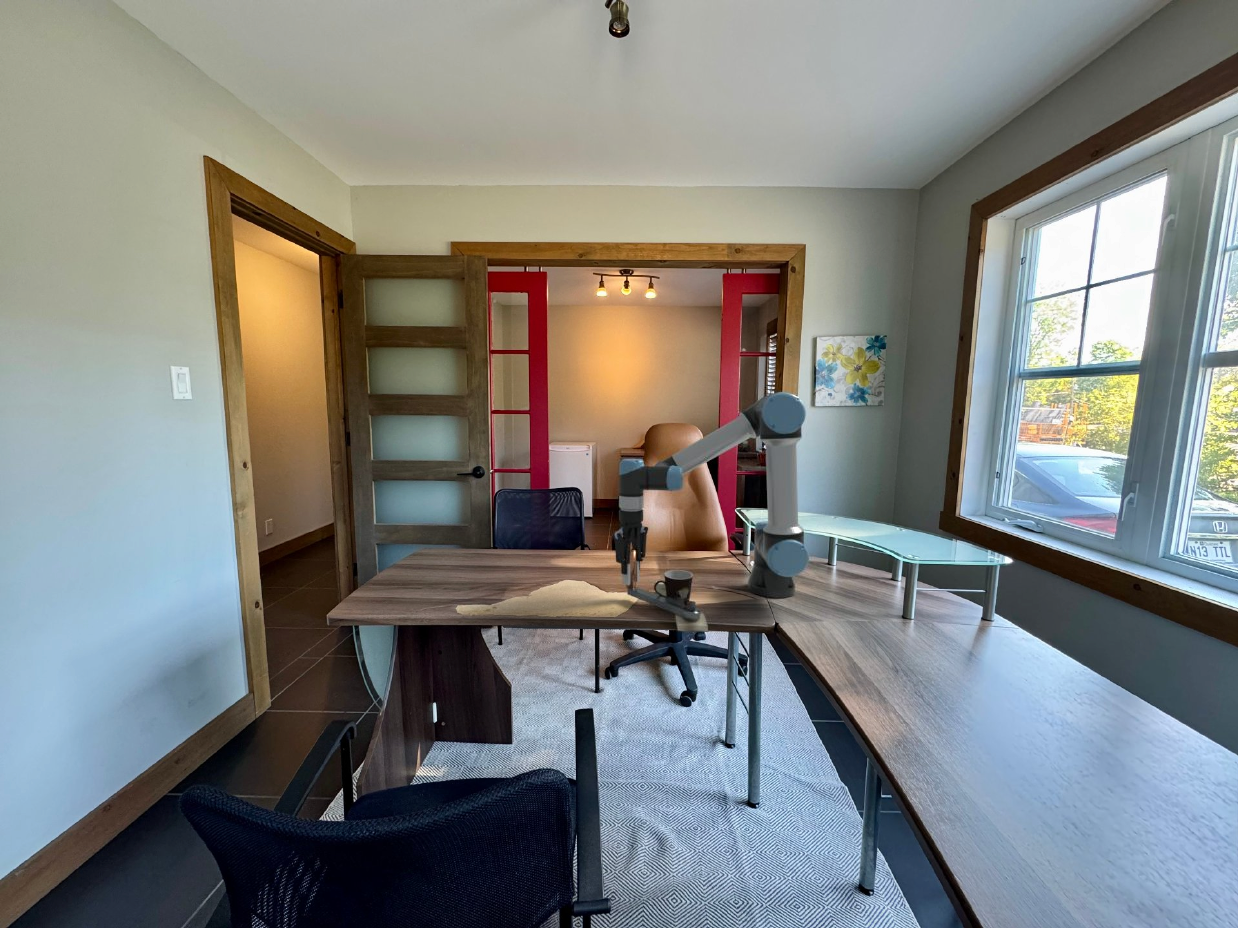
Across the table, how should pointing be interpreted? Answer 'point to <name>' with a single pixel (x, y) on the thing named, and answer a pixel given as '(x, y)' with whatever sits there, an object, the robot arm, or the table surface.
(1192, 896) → the table surface
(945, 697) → the table surface
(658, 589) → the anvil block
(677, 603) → the lever
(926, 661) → the table surface
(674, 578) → the coffee mug
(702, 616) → the pivot pedestal
